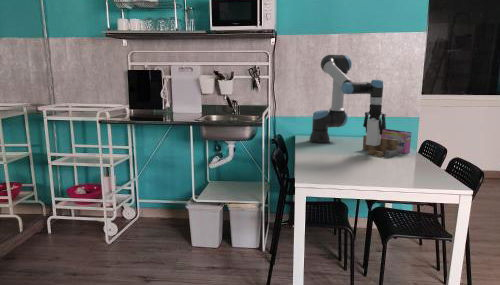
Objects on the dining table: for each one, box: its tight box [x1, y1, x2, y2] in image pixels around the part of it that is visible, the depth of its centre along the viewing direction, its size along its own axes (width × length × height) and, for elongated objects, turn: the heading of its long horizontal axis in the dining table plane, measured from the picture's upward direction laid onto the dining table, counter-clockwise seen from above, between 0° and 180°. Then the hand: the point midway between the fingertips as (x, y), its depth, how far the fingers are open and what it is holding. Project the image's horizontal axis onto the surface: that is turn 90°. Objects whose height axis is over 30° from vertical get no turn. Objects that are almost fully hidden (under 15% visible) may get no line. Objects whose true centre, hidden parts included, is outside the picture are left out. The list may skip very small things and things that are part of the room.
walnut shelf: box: [362, 134, 398, 158], centre depth 258 cm, size 24×12×10 cm, turn 44°
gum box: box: [381, 128, 412, 154], centre depth 270 cm, size 24×8×14 cm, turn 42°
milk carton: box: [365, 116, 382, 146], centre depth 257 cm, size 7×7×19 cm
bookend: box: [384, 149, 397, 159], centre depth 251 cm, size 2×10×4 cm, turn 134°
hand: (373, 138), depth 258 cm, fingers closed on milk carton, 7 cm apart
